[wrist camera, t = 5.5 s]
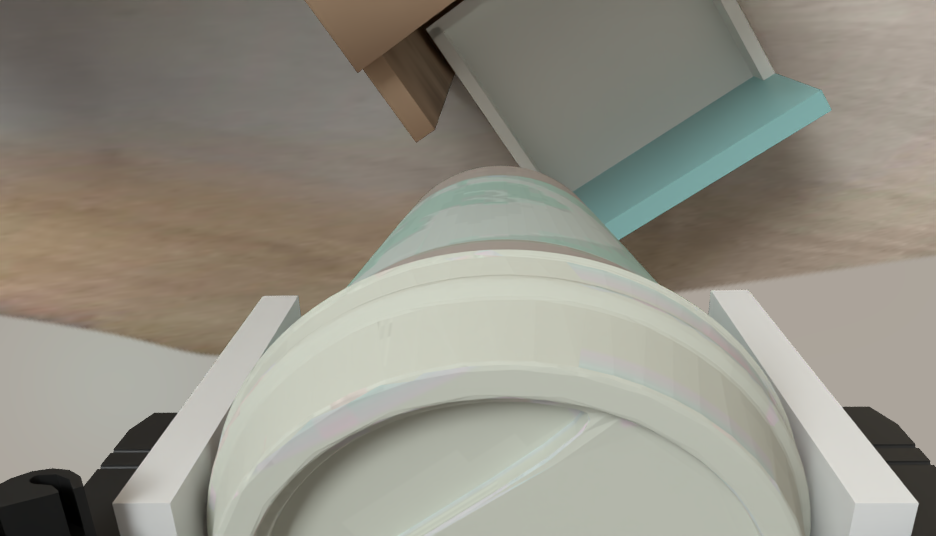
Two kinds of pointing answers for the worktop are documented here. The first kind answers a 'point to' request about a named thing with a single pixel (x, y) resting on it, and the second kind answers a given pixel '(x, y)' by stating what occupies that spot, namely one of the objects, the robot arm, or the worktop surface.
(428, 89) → the cubby
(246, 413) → the coffee cup
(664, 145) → the teal drawer
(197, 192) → the worktop surface
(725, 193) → the worktop surface
